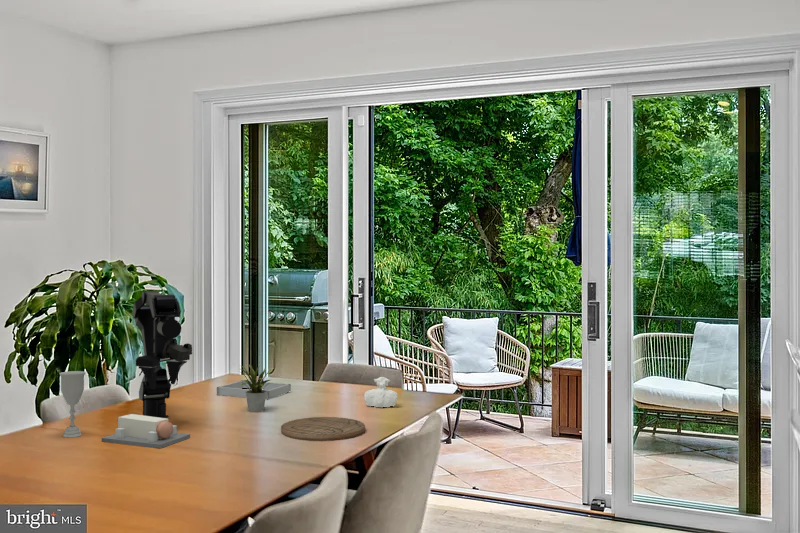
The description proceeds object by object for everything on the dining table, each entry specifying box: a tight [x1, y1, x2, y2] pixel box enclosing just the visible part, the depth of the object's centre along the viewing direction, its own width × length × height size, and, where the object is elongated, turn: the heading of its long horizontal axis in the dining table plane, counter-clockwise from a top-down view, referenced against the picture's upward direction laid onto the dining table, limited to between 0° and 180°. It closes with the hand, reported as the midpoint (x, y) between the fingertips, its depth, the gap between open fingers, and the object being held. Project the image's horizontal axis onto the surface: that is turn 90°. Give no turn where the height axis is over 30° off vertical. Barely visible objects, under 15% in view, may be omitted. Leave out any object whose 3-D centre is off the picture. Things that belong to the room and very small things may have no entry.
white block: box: [117, 413, 174, 440], centre depth 209 cm, size 16×5×5 cm, turn 64°
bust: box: [363, 376, 399, 408], centre depth 260 cm, size 12×8×11 cm
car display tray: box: [216, 380, 292, 400], centre depth 282 cm, size 22×17×3 cm
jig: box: [101, 424, 191, 449], centre depth 209 cm, size 20×13×4 cm, turn 69°
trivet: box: [280, 416, 366, 442], centre depth 222 cm, size 25×25×2 cm
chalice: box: [58, 370, 87, 438], centre depth 214 cm, size 7×7×18 cm
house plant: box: [238, 363, 277, 413], centre depth 251 cm, size 14×14×16 cm
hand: (163, 386), depth 227 cm, fingers open, 9 cm apart
